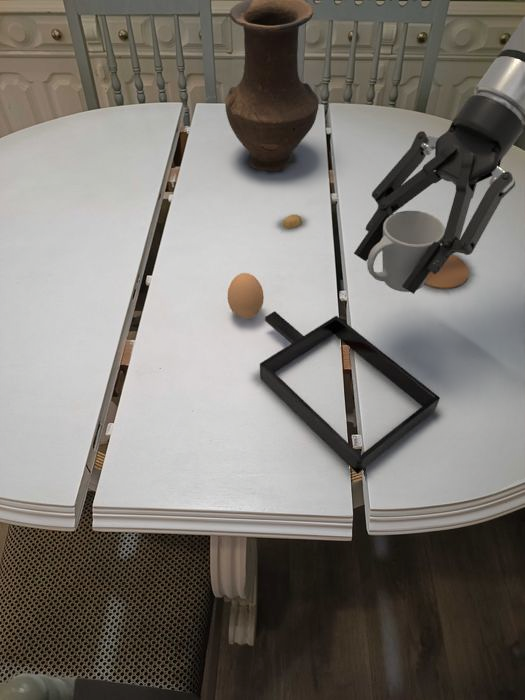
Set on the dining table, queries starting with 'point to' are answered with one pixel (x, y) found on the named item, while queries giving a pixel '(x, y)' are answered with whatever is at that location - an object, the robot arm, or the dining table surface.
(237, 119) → the vase
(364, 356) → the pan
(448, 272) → the coaster
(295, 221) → the potato
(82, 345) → the dining table surface
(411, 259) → the cup
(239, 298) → the egg
